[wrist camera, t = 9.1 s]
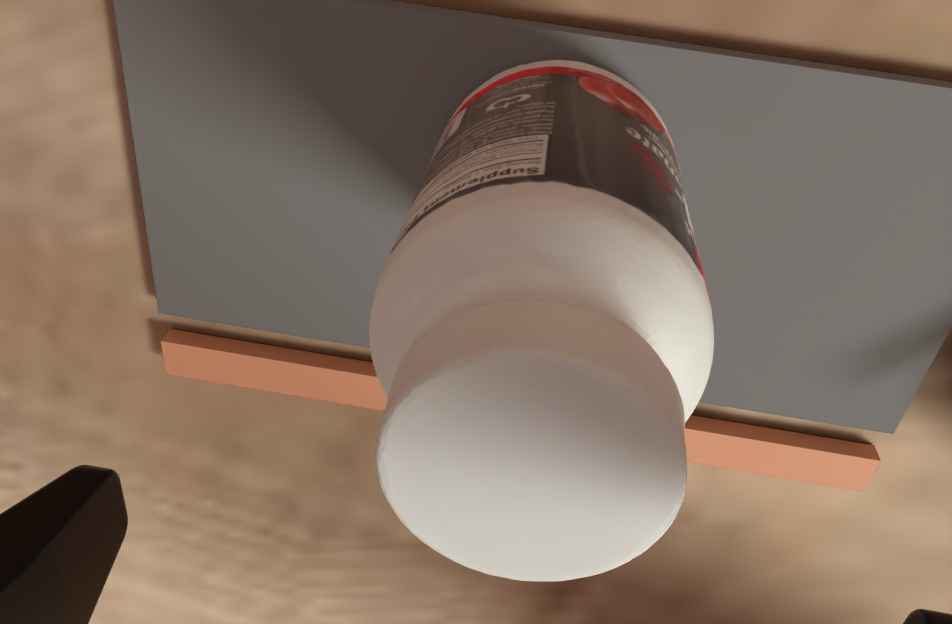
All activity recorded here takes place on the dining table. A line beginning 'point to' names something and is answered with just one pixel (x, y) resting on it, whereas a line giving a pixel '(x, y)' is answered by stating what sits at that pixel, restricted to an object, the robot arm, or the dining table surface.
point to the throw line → (363, 389)
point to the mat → (428, 113)
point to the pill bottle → (542, 330)
